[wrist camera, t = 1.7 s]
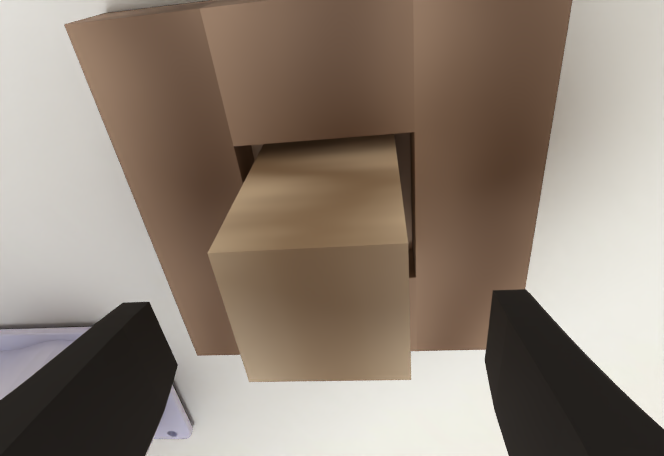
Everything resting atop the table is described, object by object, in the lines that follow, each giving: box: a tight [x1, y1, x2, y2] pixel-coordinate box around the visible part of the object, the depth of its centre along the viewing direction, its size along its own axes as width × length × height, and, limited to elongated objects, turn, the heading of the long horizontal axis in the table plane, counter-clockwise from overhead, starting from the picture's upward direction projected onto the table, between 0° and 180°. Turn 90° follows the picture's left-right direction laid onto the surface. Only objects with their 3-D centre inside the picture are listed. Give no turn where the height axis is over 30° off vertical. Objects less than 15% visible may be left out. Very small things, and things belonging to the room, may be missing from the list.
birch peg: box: [208, 134, 411, 382], centre depth 12 cm, size 4×4×6 cm
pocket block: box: [65, 0, 572, 356], centre depth 14 cm, size 12×12×2 cm
